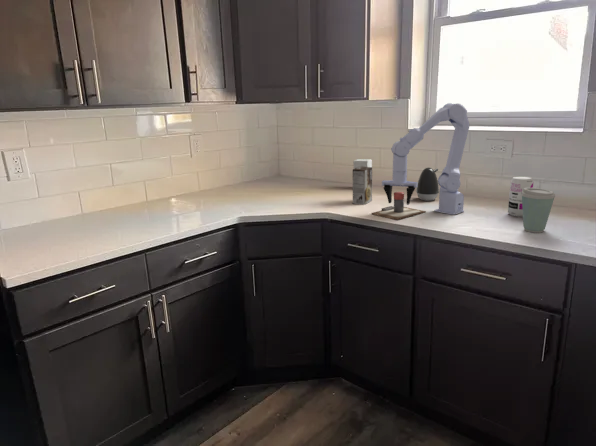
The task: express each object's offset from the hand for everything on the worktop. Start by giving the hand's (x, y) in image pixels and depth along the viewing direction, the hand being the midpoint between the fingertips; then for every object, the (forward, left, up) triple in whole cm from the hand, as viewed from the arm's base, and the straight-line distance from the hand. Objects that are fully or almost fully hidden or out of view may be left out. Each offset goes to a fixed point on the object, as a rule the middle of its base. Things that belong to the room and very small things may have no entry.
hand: (398, 203), depth 196 cm
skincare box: (+49, -29, -4) cm, 57 cm away
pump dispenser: (+8, -30, -4) cm, 31 cm away
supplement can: (-35, -32, -4) cm, 48 cm away
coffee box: (+26, -5, -4) cm, 27 cm away
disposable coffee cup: (-50, -14, -4) cm, 52 cm away
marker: (0, 0, -3) cm, 4 cm away
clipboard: (0, 0, -4) cm, 4 cm away
